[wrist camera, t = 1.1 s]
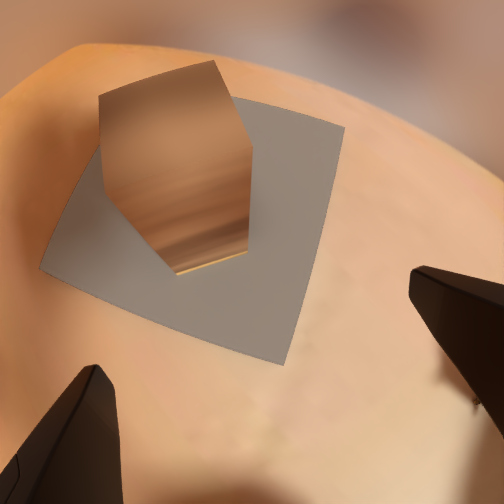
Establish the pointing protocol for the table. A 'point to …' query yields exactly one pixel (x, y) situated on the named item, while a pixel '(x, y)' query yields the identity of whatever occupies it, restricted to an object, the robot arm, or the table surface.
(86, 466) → the robot arm
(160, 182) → the walnut block
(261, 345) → the rubber mat
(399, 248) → the table surface
